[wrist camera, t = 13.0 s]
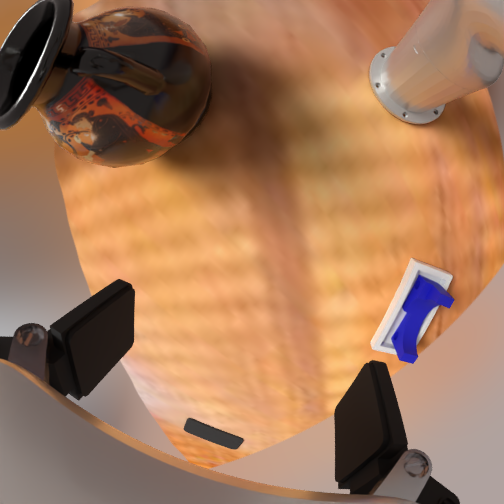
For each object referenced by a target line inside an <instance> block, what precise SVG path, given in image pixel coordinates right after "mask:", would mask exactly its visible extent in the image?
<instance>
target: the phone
mask: <svg viewBox="0 0 504 504" xmlns="http://www.w3.org/2000/svg"><path fill="white" fill-rule="evenodd" d="M184 430H185V431H186V432H188V433H190V434H193V435H195V436H198V437H200V438H203V439H205V440H208V441H210V442H213V443H216V444H219V445H221V446H224V447H227V448H230V449H237V448H238V447H239V446H240V445H241V443H242V442H243V438H241V437H238V436H235V435H233V434H230V433H227V432H224V431H222V430H219V429H216V428H214V427H211V426H209V425H207V424H204V423H202V422H199V421H197V420H195V419H192V418H188V419H187V421H186V424H185V426H184Z"/></svg>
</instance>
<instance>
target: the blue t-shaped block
mask: <svg viewBox="0 0 504 504" xmlns="http://www.w3.org/2000/svg"><path fill="white" fill-rule="evenodd" d="M453 301H454V299H453V297H452V296H451V295H450V294H449V293H448V292H447V291H446V290H445V289H444V288H443V287H442V286H441V285H440V284H439V283H437V282H435V281H433V280H430V279H428V278H426V277H424V276H422V275H418V277H417V279H416V281H415V283H414V285H413V287H412V289H411V291H410V293H409V295H408V296H407V298H406V300H405V302H404V304H403V305H402V308H403V310H404V311H405V312H407V313H406V315H405V316H404V318H403V320H402V321H401V323H400V325H399V326H398V328H397V330H396V331H395V333H394V334H393V336H392V337H391V341H392V343H393V345H394V348H395V350H396V353H397V355H398V358H399V360H401V361H405V362H408V363H412V364H413V363H414V362H415V361H416V359H417V358H418V355H417V349H416V343H417V336H418V333H419V329H420V327H421V325H422V322H423V321H424V319H425V317H426V316H427V314H428V313H429V312H430V311H431V310H432V309H433V308H435V307H437V306H439V305H443V306H445V307H447V308H450V307H451V305H452V303H453Z"/></svg>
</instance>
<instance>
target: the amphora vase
mask: <svg viewBox="0 0 504 504" xmlns="http://www.w3.org/2000/svg"><path fill="white" fill-rule="evenodd" d="M73 6H74V3H73V1H72V0H38V1H37V2H36V3H35V4H34V5H32V6H31V7H30V8H29V9H28V10H27V11H26V12H25V13H24V14H23V15H22V17H21V18H20V19H19V20H18V21H17V23H16V24H15V26H14V27H13V28H12V30H11V31H10V33H9V34H8V36H7V38H6V39H5V41H4V43H3V45H2V47H1V49H0V130H7V129H10V128H11V127H13V126H14V125H16V124H17V123H18V122H19V121H20V120H21V119H22V118H23V117H24V116H25V114H26V113H27V112H28V111H29V110H30V108H31V107H36V108H37V110H38V111H39V112H40V114H41V117H42V119H43V121H44V124H45V126H46V128H47V130H48V131H49V133H50V135H51V136H52V137H53V139H54V140H55V141H56V143H57V144H58V145H59V146H60V147H62V148H63V149H64V150H66V151H67V152H69V153H70V154H72V155H73V156H75V157H76V158H78V159H80V160H82V161H84V162H87V163H92V164H97V165H102V166H107V167H112V168H116V167H124V166H131V165H139V164H144V163H146V162H148V161H151V160H153V159H155V158H158V157H160V156H162V155H163V154H164V153H166V152H167V151H168V150H170V149H171V148H172V147H174V146H175V145H176V144H179V143H180V142H182V141H183V140H185V139H186V138H187V137H189V136H190V135H191V134H192V133H193V132H194V131H195V130H196V129H197V128H198V126H199V125H200V124H201V122H202V121H203V119H204V117H205V115H206V114H207V112H208V109H209V105H210V101H211V96H212V84H211V62H210V58H209V55H208V51H207V48H206V46H205V44H204V43H203V42H202V40H201V39H200V38H199V37H198V35H197V34H196V33H195V31H194V30H193V29H192V28H191V27H190V25H188V24H186V23H185V22H183V21H181V20H180V19H178V18H176V17H174V16H172V15H170V14H168V13H167V12H165V11H161V10H157V9H153V8H144V7H122V8H117V9H113V10H109V11H105V12H103V13H100V14H98V15H95V16H93V17H91V18H88V19H86V20H84V21H81V22H77V23H74V22H72V19H73Z"/></svg>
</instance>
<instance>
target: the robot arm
mask: <svg viewBox="0 0 504 504" xmlns="http://www.w3.org/2000/svg"><path fill="white" fill-rule="evenodd" d="M503 64H504V0H430V2H429V3H428V5H427V6H426V7H425V9H424V10H423V11H422V13H421V14H420V15H419V17H418V18H417V20H416V21H415V22H414V24H413V25H412V26H411V28H410V29H409V30H408V32H407V33H406V34H405V36H404V37H403V38H402V40H401V41H400V42H399V44H398V45H397V46H396V47H389V48H385V49H383V50H381V51H380V52H379V53H378V54H377V55H376V56H375V57H374V59H373V60H372V63H371V65H370V69H369V79H370V84H371V87H372V90H373V92H374V94H375V96H376V98H377V99H378V101H379V102H380V103H381V104H382V106H383V107H384V108H385V109H386V110H387V111H388V112H389V113H391V114H392V115H394V116H395V117H396V118H398V119H400V120H402V121H405V122H408V123H411V124H425V123H429V122H431V121H433V120H435V119H437V118H438V117H439V116H440V115H441V113H442V112H443V110H444V107H445V105H446V103H448V102H451V101H453V100H456V99H458V98H461V97H463V96H466V95H468V94H471V93H473V92H476V91H478V90H481V89H484V88H487V87H489V86H490V85H492V84H493V83H495V82H496V81H497V79H498V78H499V76H500V74H501V72H502V69H503ZM376 86H378V88H377V87H376ZM434 113H435V114H434ZM403 114H404V116H405V117H404V116H403ZM134 304H135V290H134V289H133V288H132V285H131V284H130V283H128V282H125V281H123V280H121V279H118V280H116V281H114V282H113V283H111V284H110V285H108V286H107V287H105V288H104V289H102V290H101V291H99V292H98V293H96V294H95V295H93V296H92V297H90V298H89V299H87V300H86V301H84V302H83V303H82V304H80V305H79V306H77V307H76V308H74V309H73V310H72V311H70V312H69V313H67V314H66V315H64V316H63V317H62V318H60V319H59V320H57V321H56V322H55V323H53V324H52V325H50V330H48V331H46V329H45V328H44V327H43V326H41V325H39V324H35V323H29V324H25V325H22V326H21V327H19V328H18V329H17V330H16V331H15V333H14V336H13V337H0V504H460V502H459V499H458V497H457V496H456V495H455V494H454V493H452V492H451V491H450V490H448V489H447V488H445V487H444V486H443V485H442V484H440V483H439V482H437V481H436V480H435V479H434V478H432V477H431V476H430V475H431V471H432V463H431V460H430V459H429V457H428V456H427V455H426V454H425V453H424V452H422V451H420V450H417V449H410V450H408V448H407V444H408V442H407V438H406V433H405V429H404V425H403V421H402V417H401V413H400V409H399V406H398V402H397V398H396V395H395V391H394V388H393V384H392V381H391V378H390V375H389V371H388V368H387V365H386V363H384V362H379V361H374V360H372V361H370V362H369V363H366V364H365V365H364V366H363V368H362V369H361V371H360V372H359V374H358V376H357V377H356V379H355V380H354V382H353V383H352V385H351V386H350V388H349V389H348V391H347V392H346V393H345V395H344V396H343V398H342V399H341V401H340V402H339V403H338V405H337V406H336V409H335V413H334V417H335V480H336V482H338V488H339V489H350V494H335V493H322V492H313V491H304V490H296V489H289V488H283V487H277V486H271V485H267V484H262V483H257V482H253V481H249V480H244V479H240V478H237V477H233V476H229V475H226V474H222V473H219V472H216V471H212V470H209V469H206V468H203V467H200V466H197V465H195V464H192V463H189V462H186V461H184V460H181V459H178V458H176V457H174V456H171V455H169V454H166V453H164V452H162V451H160V450H157V449H155V448H153V447H151V446H149V445H146V444H144V443H142V442H140V441H138V440H136V439H134V438H132V437H130V436H128V435H126V434H125V433H123V432H121V431H119V430H117V429H115V428H113V427H112V426H110V425H108V424H106V423H105V422H103V421H102V420H100V419H98V418H97V417H95V416H93V415H92V414H90V413H89V412H87V411H86V410H84V409H83V408H81V407H79V406H78V405H76V404H75V403H73V402H72V401H71V400H69V399H68V398H66V397H65V396H66V395H67V394H68V393H69V394H70V395H71V396H73V397H74V398H76V399H77V400H80V398H82V396H87V395H89V393H90V392H91V391H92V390H93V389H94V388H95V387H96V386H97V384H98V383H99V382H100V381H101V380H102V379H103V378H104V377H105V376H106V374H107V373H108V372H109V371H110V370H111V369H112V368H113V367H114V366H115V364H116V363H117V362H118V361H119V360H120V359H121V358H122V357H123V356H124V355H125V354H126V353H127V352H128V350H129V349H130V348H131V347H132V345H133V343H134Z"/></svg>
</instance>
